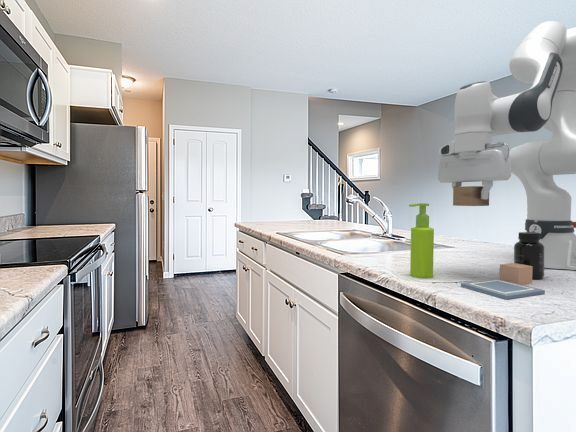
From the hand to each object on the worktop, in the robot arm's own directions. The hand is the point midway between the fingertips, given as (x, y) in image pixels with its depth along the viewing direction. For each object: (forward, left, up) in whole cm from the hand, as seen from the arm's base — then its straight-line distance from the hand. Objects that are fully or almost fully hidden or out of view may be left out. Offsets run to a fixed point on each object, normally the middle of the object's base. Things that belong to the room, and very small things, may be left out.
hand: (470, 199), depth 95 cm
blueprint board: (+3, +12, -21) cm, 24 cm away
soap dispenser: (+10, -7, -21) cm, 25 cm away
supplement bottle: (-16, +5, -21) cm, 27 cm away
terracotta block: (-7, +8, -21) cm, 24 cm away
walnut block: (0, 0, -2) cm, 2 cm away
